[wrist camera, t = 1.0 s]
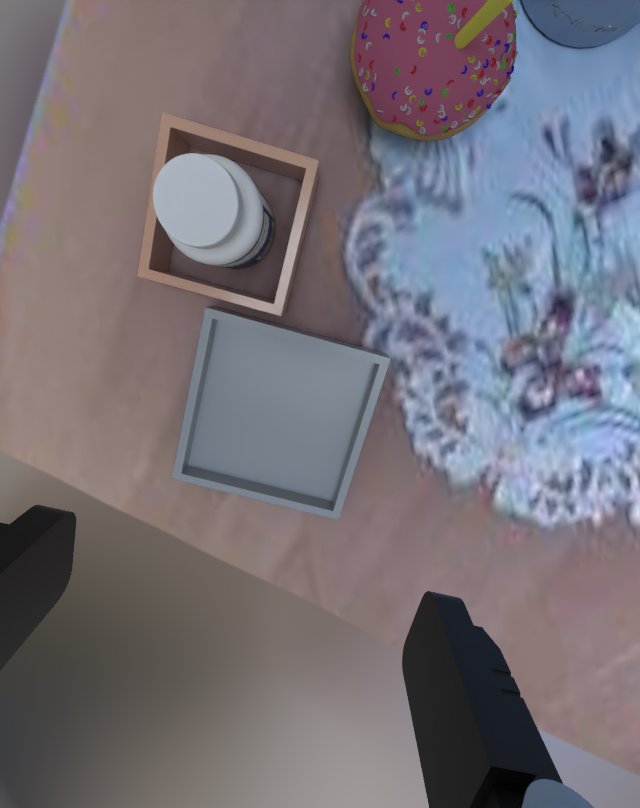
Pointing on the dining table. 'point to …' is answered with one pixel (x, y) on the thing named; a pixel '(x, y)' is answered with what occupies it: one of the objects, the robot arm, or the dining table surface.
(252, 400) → the tray
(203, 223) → the pill bottle
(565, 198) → the dining table surface
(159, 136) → the holder
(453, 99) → the cupcake
